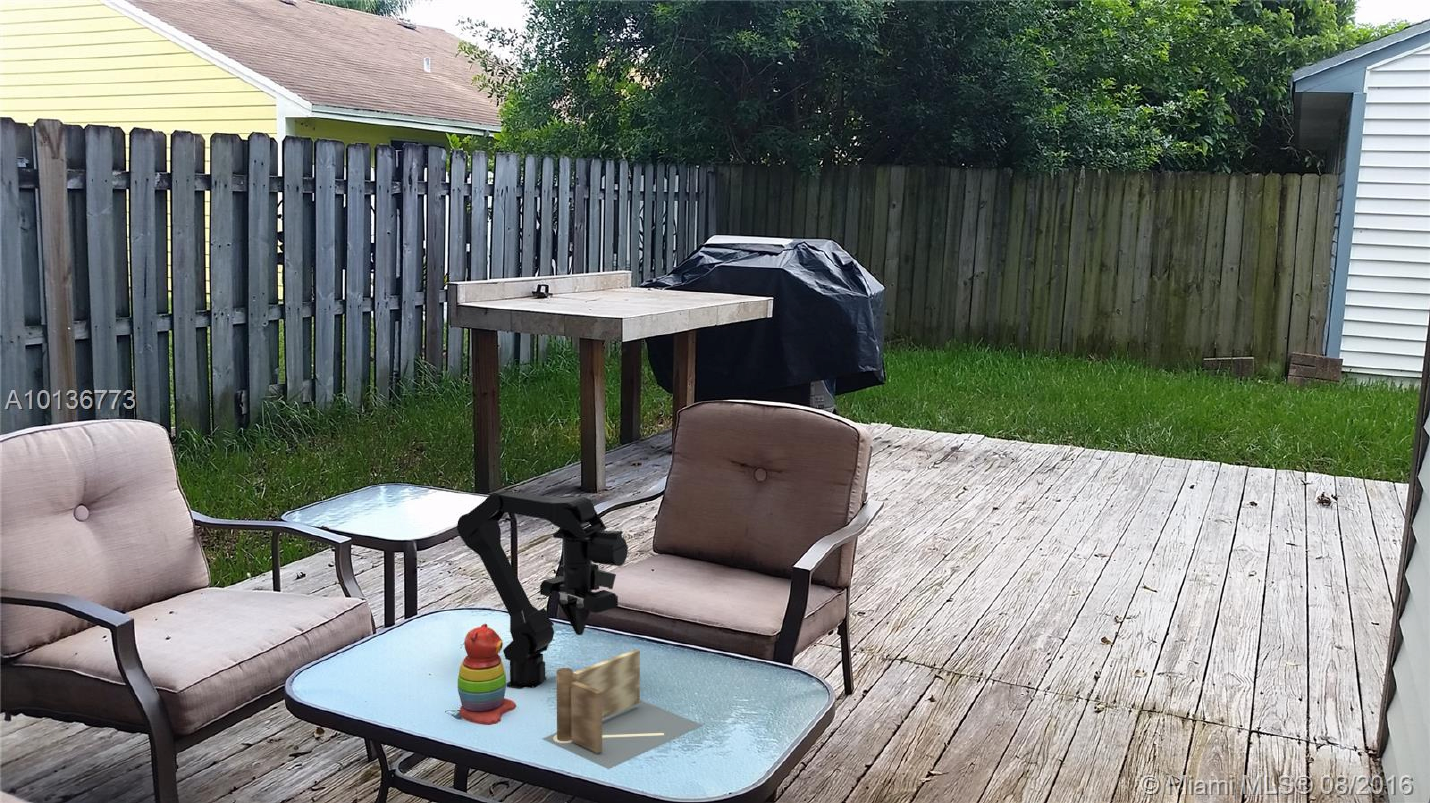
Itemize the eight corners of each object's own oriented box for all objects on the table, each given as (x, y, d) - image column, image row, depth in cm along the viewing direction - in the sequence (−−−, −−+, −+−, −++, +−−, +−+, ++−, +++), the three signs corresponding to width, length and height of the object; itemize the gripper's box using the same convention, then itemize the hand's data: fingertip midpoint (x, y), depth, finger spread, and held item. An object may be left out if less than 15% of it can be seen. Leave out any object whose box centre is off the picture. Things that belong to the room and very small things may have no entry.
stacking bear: (494, 729, 223) (493, 639, 220) (447, 721, 226) (445, 633, 223) (520, 707, 233) (518, 621, 231) (474, 700, 236) (472, 616, 234)
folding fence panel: (577, 728, 219) (576, 674, 218) (573, 726, 220) (572, 672, 219) (639, 702, 232) (639, 650, 230) (635, 701, 232) (635, 649, 231)
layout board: (542, 741, 218) (542, 737, 218) (637, 701, 236) (637, 698, 236) (608, 771, 206) (608, 768, 206) (703, 727, 225) (703, 724, 225)
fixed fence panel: (553, 738, 218) (553, 670, 216) (565, 733, 220) (565, 666, 218) (593, 756, 211) (593, 686, 209) (605, 750, 213) (605, 682, 211)
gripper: (638, 560, 235) (639, 635, 237) (580, 544, 248) (582, 615, 250) (594, 572, 227) (596, 649, 229) (537, 554, 240) (539, 627, 242)
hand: (579, 634), depth 238 cm, fingers closed
